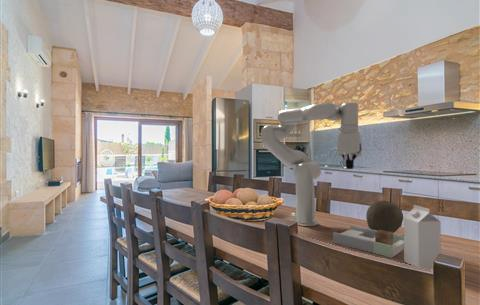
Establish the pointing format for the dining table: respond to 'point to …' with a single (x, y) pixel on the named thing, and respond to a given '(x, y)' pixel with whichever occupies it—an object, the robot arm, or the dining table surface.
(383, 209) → the brown coconut
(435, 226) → the milk carton
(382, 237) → the walnut block
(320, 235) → the dining table surface
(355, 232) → the lane box
